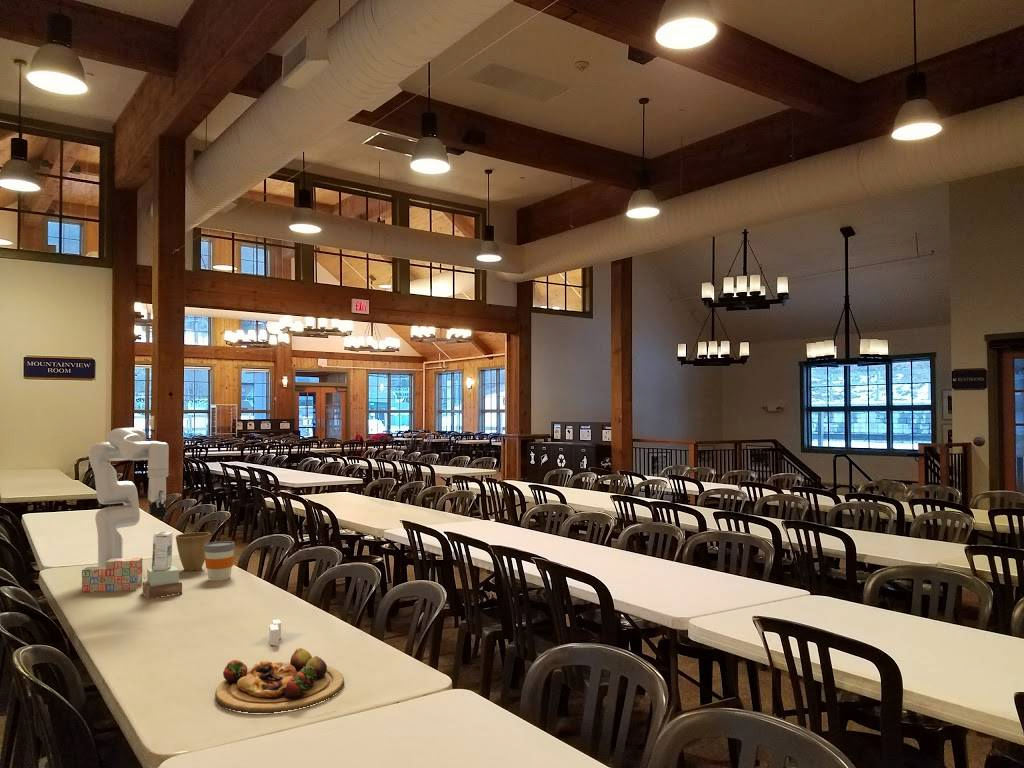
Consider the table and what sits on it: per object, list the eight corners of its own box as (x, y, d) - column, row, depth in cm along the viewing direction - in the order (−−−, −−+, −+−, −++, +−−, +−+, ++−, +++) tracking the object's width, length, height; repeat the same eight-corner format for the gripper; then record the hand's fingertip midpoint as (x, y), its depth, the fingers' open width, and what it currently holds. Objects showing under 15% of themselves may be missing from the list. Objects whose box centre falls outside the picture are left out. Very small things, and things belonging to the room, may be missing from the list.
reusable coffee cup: (197, 580, 320) (197, 545, 321) (219, 574, 332) (219, 540, 332) (220, 582, 316) (220, 547, 316) (241, 576, 327) (241, 541, 328)
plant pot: (213, 569, 341) (213, 534, 341) (178, 574, 332) (178, 538, 333) (206, 564, 353) (206, 530, 353) (172, 568, 345) (172, 534, 345)
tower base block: (142, 594, 299) (142, 581, 299) (174, 589, 306) (174, 577, 306) (149, 600, 289) (149, 587, 289) (182, 595, 297) (182, 582, 297)
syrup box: (156, 567, 301) (157, 531, 301) (171, 567, 302) (173, 531, 302) (151, 570, 295) (152, 534, 295) (167, 570, 296) (168, 534, 296)
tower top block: (147, 581, 299) (147, 569, 299) (174, 577, 305) (174, 565, 305) (151, 586, 291) (151, 573, 291) (178, 582, 297) (178, 569, 297)
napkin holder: (278, 649, 227) (278, 631, 227) (247, 647, 230) (247, 628, 230) (305, 635, 241) (305, 617, 242) (275, 632, 245) (275, 615, 245)
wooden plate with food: (186, 706, 184) (186, 672, 184) (271, 662, 214) (271, 634, 214) (292, 727, 173) (292, 691, 173) (366, 678, 203) (367, 648, 203)
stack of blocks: (81, 593, 301) (81, 562, 301) (87, 589, 307) (87, 559, 308) (137, 590, 305) (137, 559, 305) (142, 586, 311) (142, 556, 311)
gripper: (143, 471, 304) (142, 513, 304) (153, 475, 291) (152, 519, 290) (162, 470, 309) (162, 512, 308) (173, 474, 295) (173, 517, 295)
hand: (157, 515), depth 299 cm, fingers open, 9 cm apart
